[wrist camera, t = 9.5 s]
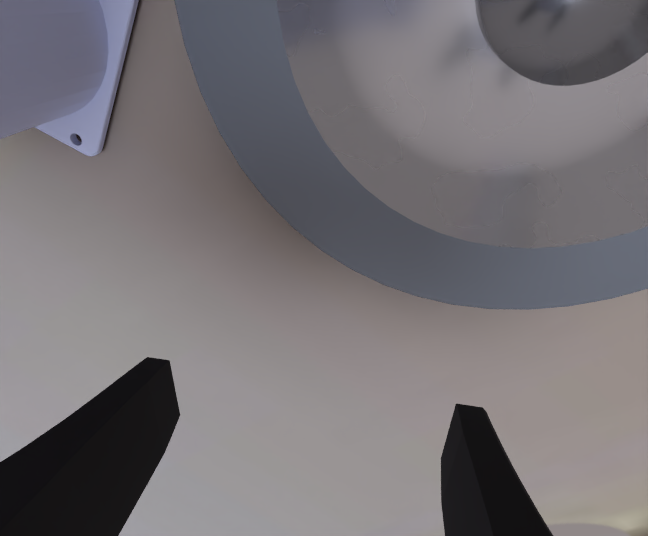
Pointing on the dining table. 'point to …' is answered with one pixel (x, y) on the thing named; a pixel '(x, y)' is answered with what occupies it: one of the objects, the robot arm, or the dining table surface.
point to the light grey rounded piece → (484, 111)
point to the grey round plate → (357, 202)
